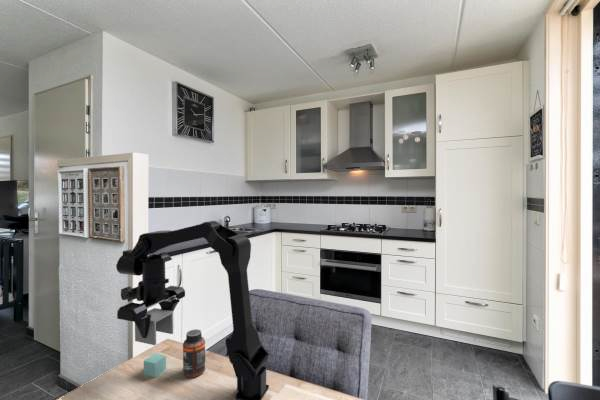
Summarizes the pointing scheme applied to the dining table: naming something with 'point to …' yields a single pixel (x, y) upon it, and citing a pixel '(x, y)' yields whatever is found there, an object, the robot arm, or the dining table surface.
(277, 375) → the dining table surface
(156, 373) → the cube
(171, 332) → the grey arch block
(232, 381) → the dining table surface
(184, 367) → the supplement bottle
